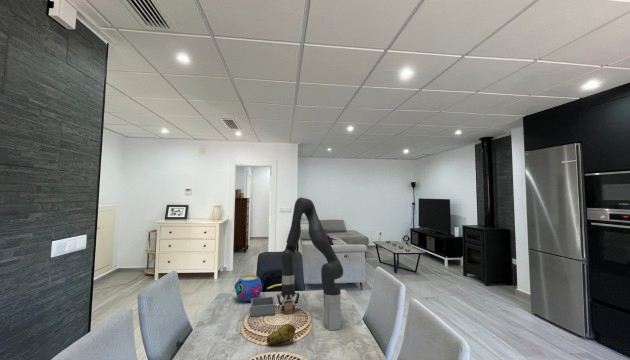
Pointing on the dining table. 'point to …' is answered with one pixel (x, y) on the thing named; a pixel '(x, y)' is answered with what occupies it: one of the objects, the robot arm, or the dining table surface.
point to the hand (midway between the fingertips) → (288, 311)
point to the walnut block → (288, 307)
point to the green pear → (281, 334)
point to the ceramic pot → (248, 287)
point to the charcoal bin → (262, 306)
